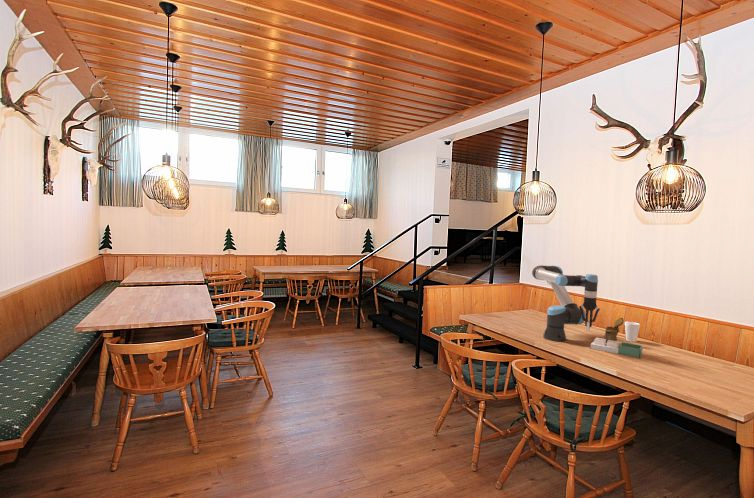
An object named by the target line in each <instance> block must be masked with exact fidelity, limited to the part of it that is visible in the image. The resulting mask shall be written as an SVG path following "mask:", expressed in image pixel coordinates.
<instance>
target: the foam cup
mask: <svg viewBox="0 0 754 498" xmlns="http://www.w3.org/2000/svg"><path fill="white" fill-rule="evenodd" d="M640 328H641V324H640V323H638V322H634V321H624V329H625V330H624V331H625V340H626V342H627V341H628V342H632V343H633V342H634V343H636V342H637V339H638V335H639V332H640Z"/></svg>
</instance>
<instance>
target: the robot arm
mask: <svg viewBox="0 0 754 498" xmlns="http://www.w3.org/2000/svg"><path fill="white" fill-rule="evenodd" d="M563 273H564V272H563V269H562V268H561V267H560V266H558V265H543V264H542V265H537V266H535V267H534V268H533V269H532V271H531V275H532V277H533V278H534V279H535V280H539V281H546V283H547V285H550V286H551V288H552V290H553V292H554V294H555V296H556V298H557V300H558V302H559V304H560V305H550V306H549V307H548V308H547V311H546V314H547V316H546V328H545V329H544V332H543V335H542V337H543V338H544V339H545V340H549V341H553V342H565V341H566V340H567V335H566V331H565V325H575V326H577V325H582V324H583V323H584V324H585V325H584V326H585V327H586V333H587V332H588V333H589V332H590V330H591V327H592V326H593V323H594V322H596V319H597V317H598V313H599V311H600V310H601V308H599V307H598V305H597V297H598V285H599V284H598V283H599V279H598V277H599V276H598V275H597V274H592V273H591V274H590V273H587V274H585V275H582V274H581V275H580V274H576V275H567V274H563ZM566 287H581V288H584V293H583V296H584V297H583V303H582V305H579V306H578V304H577V303H575V302H574V301H573V299H572V297H571V296H570V294H569V291H568V290H567V288H566ZM594 310H595V313H594ZM593 314H594V315H593Z"/></svg>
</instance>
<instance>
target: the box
mask: <svg viewBox="0 0 754 498" xmlns="http://www.w3.org/2000/svg"><path fill="white" fill-rule="evenodd" d="M620 345H621V346H620ZM643 347H644V346H643V345H640V344H636V343H635V344H634V343H629V342H624V341H621V342H620V344H619V347H618V354H617V355H623V356H627V357H632V358H637V359H640V358H641V357H642V355H643Z"/></svg>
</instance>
